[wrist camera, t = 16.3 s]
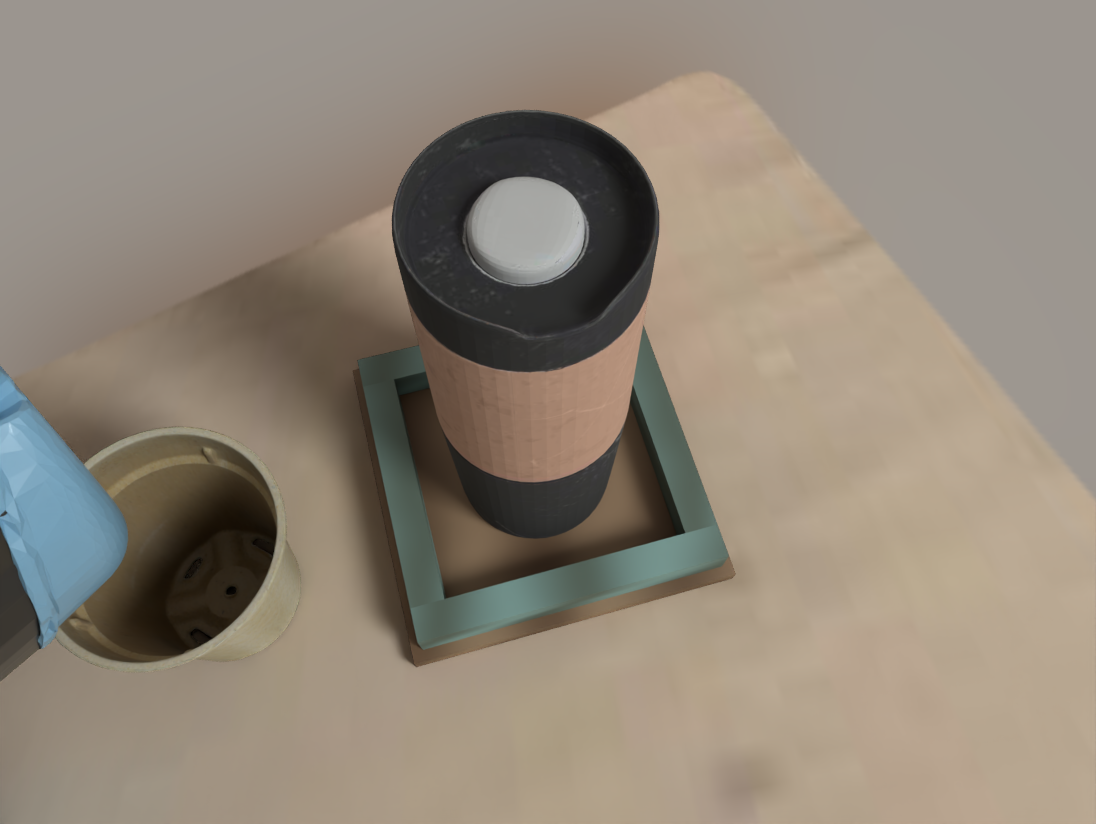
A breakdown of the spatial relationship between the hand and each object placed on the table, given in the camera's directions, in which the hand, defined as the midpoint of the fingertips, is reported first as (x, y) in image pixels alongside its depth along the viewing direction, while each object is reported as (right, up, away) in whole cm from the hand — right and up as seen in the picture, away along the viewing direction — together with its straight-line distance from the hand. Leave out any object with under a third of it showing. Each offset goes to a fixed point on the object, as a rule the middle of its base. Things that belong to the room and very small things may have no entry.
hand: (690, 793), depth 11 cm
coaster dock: (-3, +2, +32) cm, 32 cm away
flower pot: (-16, -4, +30) cm, 34 cm away
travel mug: (-2, +2, +31) cm, 32 cm away
